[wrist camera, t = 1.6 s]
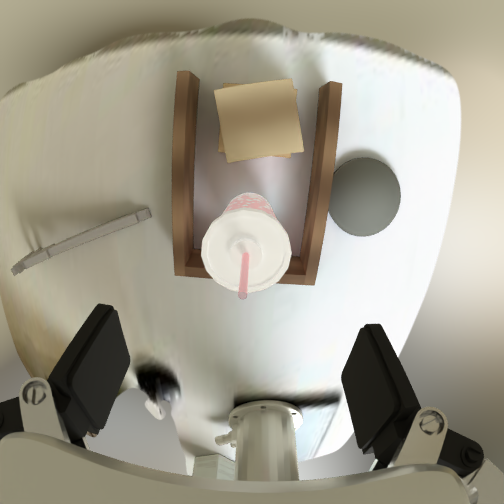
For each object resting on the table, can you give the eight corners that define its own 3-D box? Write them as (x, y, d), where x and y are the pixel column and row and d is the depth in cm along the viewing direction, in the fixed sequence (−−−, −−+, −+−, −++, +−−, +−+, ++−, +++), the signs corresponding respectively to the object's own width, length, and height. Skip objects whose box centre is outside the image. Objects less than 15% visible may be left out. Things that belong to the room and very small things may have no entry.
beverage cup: (247, 171, 25) (237, 212, 12) (293, 214, 27) (326, 292, 14) (205, 217, 27) (162, 295, 14) (251, 256, 29) (246, 355, 16)
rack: (307, 265, 29) (314, 285, 25) (184, 257, 29) (174, 275, 25) (329, 90, 22) (342, 83, 18) (188, 79, 21) (177, 71, 18)
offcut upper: (298, 149, 22) (304, 151, 19) (230, 159, 22) (227, 163, 19) (287, 85, 19) (291, 78, 17) (219, 95, 20) (213, 90, 17)
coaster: (349, 248, 28) (351, 250, 27) (311, 185, 25) (312, 186, 25) (408, 208, 26) (411, 210, 25) (376, 143, 23) (378, 143, 23)
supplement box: (194, 456, 50) (187, 500, 39) (219, 453, 48) (214, 500, 37) (213, 466, 53) (208, 507, 41) (237, 463, 51) (235, 507, 40)
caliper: (36, 257, 30) (9, 278, 24) (33, 250, 29) (5, 271, 23) (152, 215, 27) (128, 238, 21) (149, 206, 27) (123, 226, 21)
